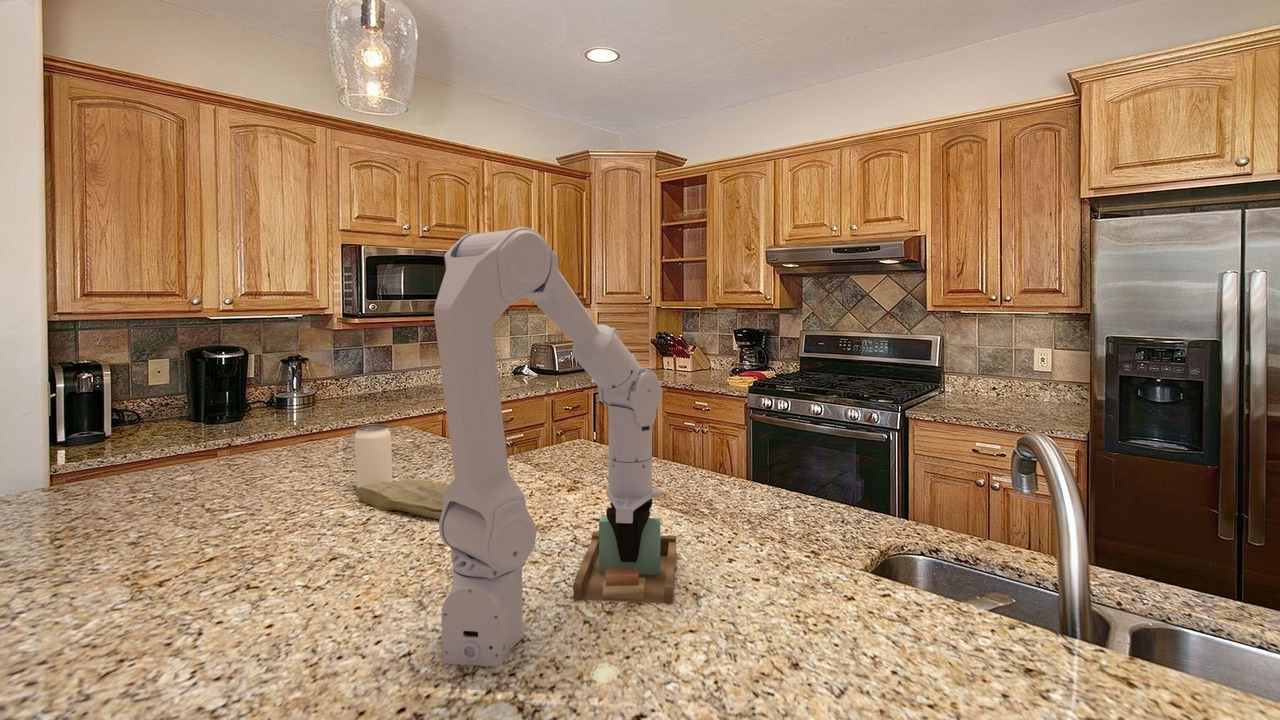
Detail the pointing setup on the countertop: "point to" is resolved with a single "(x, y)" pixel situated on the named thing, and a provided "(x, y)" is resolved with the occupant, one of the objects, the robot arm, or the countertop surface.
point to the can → (373, 454)
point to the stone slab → (405, 496)
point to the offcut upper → (622, 577)
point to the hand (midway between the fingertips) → (629, 557)
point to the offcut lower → (625, 591)
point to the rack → (656, 586)
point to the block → (647, 553)
